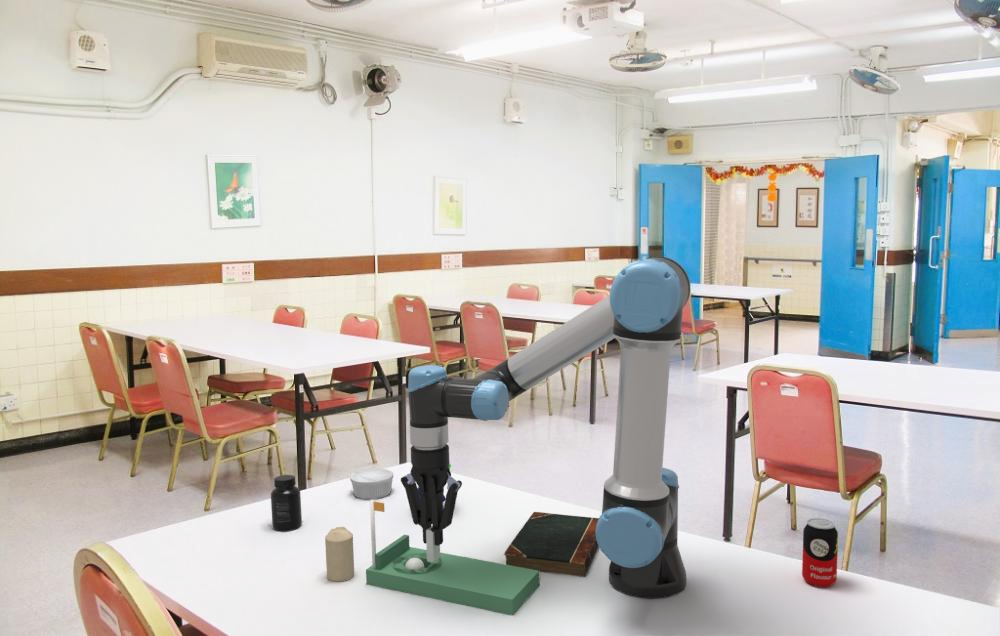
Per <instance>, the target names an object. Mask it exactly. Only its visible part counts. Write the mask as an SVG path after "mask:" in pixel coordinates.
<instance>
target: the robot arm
mask: <svg viewBox="0 0 1000 636" xmlns="http://www.w3.org/2000/svg"><path fill="white" fill-rule="evenodd" d="M690 295H691V281H690V277H689V275H688V273H687V271H686V270H685V269H684V267H683V266H682V265H681V264H680V263H679V262H677V261H675V260H674V259H672V258H669V257H666V256H651V257H647V258H644V259H643V258H642V259H638V260H635V261H633V262H630V263H629V264H627V265H625V267H624V268H622V269H621V270H620V271H619V272H618V273H617V275H616V276H615V278H614V280H613V282H612V284H611V286H610V291H609V295H607V296H606V297H604V298H602V299H601V300H599V301H598V302H596V303H595V304H593V305H592V306H590V307H589V308H587V309H586V310H584V311H582V312H580V313H579V314H577V315H576V316H574V317H572V318H571V319H569V320H567V321H566V322H564V323H563V324H561V325H559V326H558V327H556V328H555V329H554V330H552V331H550V332H548V333H547V334H545V335H544V336H542V337H540V338H539V339H537V340H536V341H534V342H532V343H531V344H529V345H528V346H525V347H524V348H523V349H521V350H519V351H518V352H516V353H514V354H513V355H512V356H510V357H508V358H507V359H505V360H504V361H501V362H500V363H499V364H497V365H495V366H494V367H492V368H491V369H489V370H487V371H486V372H483V373H481V374H479V375H478V376H475V377H473V378H451V377H448V374H447V369H446V368H445V366H440V365H433V364H432V365H430V364H429V365H420V366H416V367H415V366H414V368H412V369H410V370H409V373H408V383H407V384H408V390H407V393H408V406H409V409H408V410H409V440H410V441H409V442H410V444H411V447H410V464H411V465H412V467H411V469H410V473H407V474H406V475H404V476H402V477H400V482H401V484H402V486H403V487H404V489H405V493H406V498H407V502H408V507H409V509H410V513H411V518H412V521H413V524H414V525H416V526H417V525H418V526H420V527H421V529H422V542H423V544H426V550H427V561H428V562H433V563H434V562H435V561H436V560H438V559H439V558H440V553H441V545H442V544H443V542H444V530H445V529H447V528H448V527H449V526H450V525H452V522H453V517H454V511H455V507H456V503H457V498H458V492H459V490H460V488H461V487H462V485H463V482H462V481H461V480H460V479H459V480H456V479H455V478H454V477H452V471H451V470H449V463H450V446H449V445H448V443H449V442H450V441H449V418H453V419H454V418H455V419H457V418H459V419H465V420H466V419H467V420H478V421H483V422H484V421H485V422H486V421H499V420H501V419H503V418H504V417H505V416H506V412H508V411H507V410H508V408H509V402H511V401H512V400H514V399H516V397H518V396H520V395H522V394H524V393H526V392H527V391H528V390H529V389H532V388H533V387H534V386H536V385H538V384H540V383H541V382H544V381H545V380H547V379H549V378H550V377H552V376H554V375H555V374H557V373H558V372H560V371H561V370H563V369H565V368H567V367H569V366H570V365H571V364H574V363H575V362H577V361H578V360H580V359H582V358H583V357H585V356H587V355H588V354H591V353H592V352H593V351H595V350H597V349H598V348H601V347H602V346H604V345H606V344H607V343H609V342H610V341H612V340H613V339H615V340H616V341H617V342H618V343H619V345H620V355H619V356H620V357H619V373H618V389H617V406H616V421H615V437H614V438H615V441H614V451H613V452H614V456H613V470H612V471H613V472H612V475H611V476H610V477H608V478H607V479H606V480H605V481H604V483H603V496H602V508H601V509H602V511H601V515H599V519H598V522H597V524H596V540H597V543H598V548H599V549H600V551H601V552H602V553H603V554H604V555H605V557H606V558H607V559H608V560H609V561H610V564H609V566H608V567H609V568H608V581H609V584H610V585H611V586H612V587H613V588H614V589H616V590H617V591H619V592H621V593H623V594H625V595H628V596H632V597H637V598H644V599H662V598H668V597H672V596H675V595H678V594H679V593H681V592H683V591H684V590H685V588H687V587H686V586H687V571H686V568H685V563H684V562H683V558H682V555H681V553H680V549H679V545H678V533H679V532H678V526H679V525H678V523H679V522H678V519H679V518H678V517H679V516H678V515H679V513H678V512H679V489H680V485H679V479H678V474H677V473H676V472H675V471H674V470H673V469H669V468H665V467H663V462H664V448H665V436H666V424H667V423H666V422H667V421H666V420H667V409H668V393H669V392H668V391H669V382H670V381H669V379H670V378H669V377H670V367H671V364H670V363H671V352H672V348H673V347H674V346H675V345H676V344H677V343H679V342H680V341H681V339H682V338H681V337H682V336H681V335H682V323H683V313H684V311H683V310H684V308H685V306H686V305H687V304H688V301H689V299H690ZM445 486H446V489H447V492H446V494H445V501H444V502H443V493H444V491H445ZM418 487H419V493H418V489H417V488H418ZM419 496H420V497H419Z"/></svg>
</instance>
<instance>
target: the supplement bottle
mask: <svg viewBox="0 0 1000 636" xmlns="http://www.w3.org/2000/svg"><path fill="white" fill-rule="evenodd" d="M273 481H274V482H273V483H274V484H273V486H274V489H272V490H271V493H270V503H271V504H270V506H271V520H272V521H271V523H272V528H273V529H274V530H276V531H279V532H287V531H293V530H296V529H298V528H300V527H301V526H302V523H303V519H302V515H303V514H302V501H301V499H302V498H301V497H302V496H301V490H300V488H299V487H297V486H296V483H297V482H296V476H295V475H294V474H282V475H278V476H275V478H274V479H273Z"/></svg>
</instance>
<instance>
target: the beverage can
mask: <svg viewBox="0 0 1000 636" xmlns="http://www.w3.org/2000/svg"><path fill="white" fill-rule="evenodd" d="M802 535H803V537H802V563H801V565H802V566H801V575H802V578H803V579H804V580H805V582H806V583H808V584H809V585H811V586H815V587H820V588H827V587H830V586H833V584H835V583H836V582H837V578H838V577H837V574H838V555H839V554H838V552H839V551H838V549H839V547H838V546H839V532H838V530H837V528H836V523H835V522H833V521H832V520H829V519H826V518H825V519H824V518H819V517H817V518H815V517H814V518H809V519H807V521H806V525H805V526H804V528H803V534H802Z"/></svg>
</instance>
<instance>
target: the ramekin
mask: <svg viewBox="0 0 1000 636" xmlns="http://www.w3.org/2000/svg"><path fill="white" fill-rule="evenodd" d="M393 479H394V472H393V471H391V470H389V469H386V468H380V467H379V468H366V469H362V470H358V471H356V472H353V473H352V474H351V475H350V479H349V480H350V482H351V485H352V486H351V487H352V490H353V493H354V495H355V496H356V498H358V499H362V500H378V499H382V498H385V497H387V496H388V495H390V494H391V491H392V486H393Z"/></svg>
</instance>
